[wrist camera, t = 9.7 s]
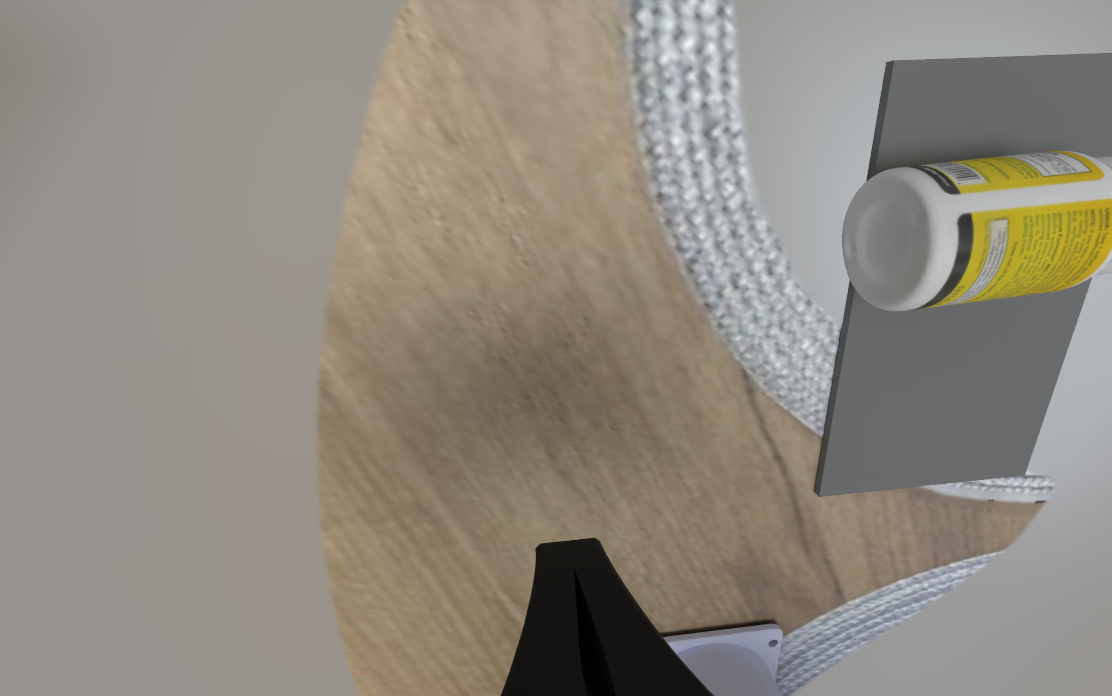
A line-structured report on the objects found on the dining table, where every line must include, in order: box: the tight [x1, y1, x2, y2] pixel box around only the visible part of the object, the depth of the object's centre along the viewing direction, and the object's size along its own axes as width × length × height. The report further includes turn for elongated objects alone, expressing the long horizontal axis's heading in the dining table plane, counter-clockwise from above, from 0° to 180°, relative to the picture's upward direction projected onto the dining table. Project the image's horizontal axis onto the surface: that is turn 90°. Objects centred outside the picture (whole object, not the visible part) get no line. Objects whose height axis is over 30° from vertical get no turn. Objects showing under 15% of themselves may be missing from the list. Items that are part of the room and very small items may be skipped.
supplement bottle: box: [842, 151, 1112, 311], centre depth 18 cm, size 5×5×8 cm
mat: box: [814, 53, 1112, 497], centre depth 22 cm, size 18×10×1 cm, turn 3°
